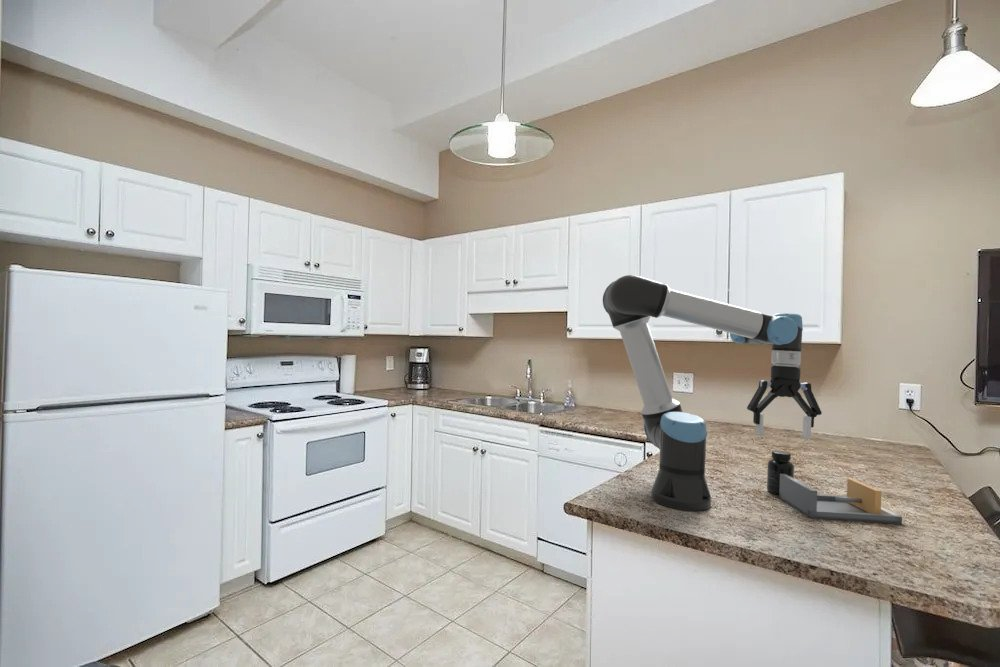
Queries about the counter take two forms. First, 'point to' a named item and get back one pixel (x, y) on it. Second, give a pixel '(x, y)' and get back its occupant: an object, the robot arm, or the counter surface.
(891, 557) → the counter surface
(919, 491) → the counter surface
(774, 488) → the supplement bottle
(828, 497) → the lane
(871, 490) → the pusher
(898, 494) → the counter surface
